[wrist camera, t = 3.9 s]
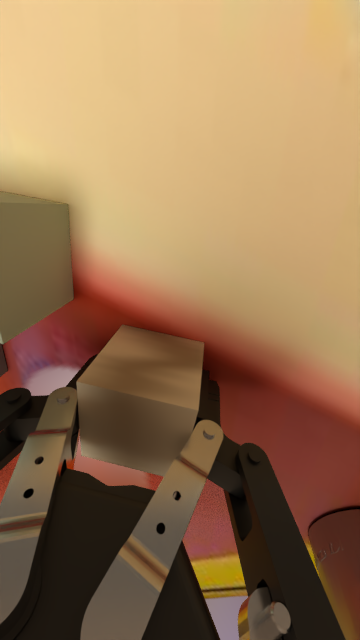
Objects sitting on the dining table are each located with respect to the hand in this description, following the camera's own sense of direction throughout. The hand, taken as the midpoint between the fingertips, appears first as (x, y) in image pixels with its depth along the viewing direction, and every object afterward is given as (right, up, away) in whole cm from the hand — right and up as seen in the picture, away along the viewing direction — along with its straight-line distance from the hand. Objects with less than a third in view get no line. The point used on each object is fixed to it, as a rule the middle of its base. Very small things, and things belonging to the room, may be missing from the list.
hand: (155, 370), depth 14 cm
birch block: (0, 0, 0) cm, 0 cm away
